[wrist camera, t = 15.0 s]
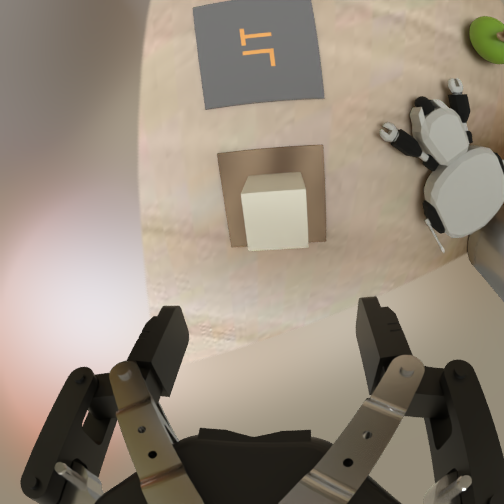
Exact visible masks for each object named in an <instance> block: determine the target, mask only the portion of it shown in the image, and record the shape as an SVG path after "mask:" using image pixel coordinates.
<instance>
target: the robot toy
mask: <svg viewBox="0 0 504 504" xmlns="http://www.w3.org/2000/svg"><path fill="white" fill-rule="evenodd" d="M454 81H455V82H454ZM448 88H449V89H450V91H451V92H452V94H453V95H448V97H449V102H450V107H451V108H448V107H447V106H446V105H445V104H444V103H443V102H442V101H441V100H429V99H427V98H426V97H423V96H421V97H418V98H417V99H416V100H415V107H414V108H412V110H411V113H410V118H411V122H412V134H413V137H414V138H413V137H412V136H410V135H409V134H408V133H406V132H405V131H403V130H402V129H400V130H397V128H396V127H395V125H394V124H392V123H389V122H386V123H384V124H383V126H382V127H385V128H387V129H388V130H389V132H388V133H386V132H385V131H383V130H382V129H380V131H379V132H380V136H381V137H382V138H383V139H384V140H385V141H389V142H391V145H392V146H393V147H395V148H396V149H398V150H399V151H401V152H402V153H404V154H405V155H407V156H413V157H419V158H420V159H422V160H423V165H424V166H425V167H427V168H428V169H429V170H431V171H433V172H432V173H431V174H430V176H429V177H428V179H427V181H426V184H425V187H424V196H425V201H424V202H423V208H424V214H425V216H426V219H425V220H424V221H425V223H426V225H428V226H429V228H430V230H431V231H432V233H433V235H434V237H435V239H436V241H437V243H438V244H439V246H440V249H441V251H442V252H443V253H444V248H443V247H442V246H441V244H440V242H439V240H438V238H437V236H436V234H435V232H434V231H433V229H432V227H433V228H434V229H435V230H436V231H438V232H439V233H440V234H441V233H446V234H447V235H448V236H450V237H451V238H461V237H464V236H467V235H469V234H472V233H473V232H475V231H477V230H479V229H480V228H482V227H484V226H485V225H486V224H487V223H488V222H489V221H490V220H491V219H492V218H493V216H494V215H495V214H496V213H497V212H498V210H499V209H500V207H501V206H502V204H503V202H504V160H502V159H501V158H500V156H499V155H498V154H497V153H495V152H492V150H491V149H490V148H486V147H482V146H477V145H469V143H473V141H472V134H471V132H470V131H468V130H467V120H468V117H469V114H470V107H469V102H468V97H467V94H462V91H463V85H462V82H461V80H459V79H458V78H456V79H454V78H451V79H449V80H448ZM431 226H432V227H431Z"/></svg>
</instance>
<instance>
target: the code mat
mask: <svg viewBox="0 0 504 504" xmlns="http://www.w3.org/2000/svg"><path fill="white" fill-rule="evenodd" d="M193 16H194V24H195V33H196V41H197V49H198V57H199V65H200V73H201V80H202V88H203V95H204V103H205V110H206V109H212V108H219V107H226V106H233V105H241V104H249V103H259V102H269V101H281V100H297V99H321V98H324V89H323V79H322V71H321V62H320V55H319V47H318V40H317V33H316V27H315V20H314V14H313V8H312V3H311V0H231V1H225V2H219V3H214V4H208V5H204V6H199V7H194V8H193Z"/></svg>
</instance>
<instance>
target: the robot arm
mask: <svg viewBox="0 0 504 504" xmlns="http://www.w3.org/2000/svg"><path fill="white" fill-rule="evenodd" d="M468 256H469V260H470V262H471V264H472V265H473V266H474V267H475V268H476V269H477V271H478V272H479V273H480V274H481V275H482V276H483V277H484V279H485V280H486V281H487V282H488V283H489V284H490V286H491V287H492V288H493V289H494V291H495V292H496V293H497V294H498V296H499V297H500V298H501V299H502V300H503V302H504V205H502V206H501V207H500V209H499V210H498V212H497V213H496V214H495V215H494V216H493V218H492V219H491V220H490V221H489V222H488V223H487V224H486V225H485V226H484V227H482V228H480V229H479V230H477V231H475V232H473V233H472V234H470V236H469V240H468ZM356 337H357V341H358V345H359V349H360V354H361V358H362V362H363V367H364V371H365V376H366V380H367V385H368V389H369V395H371V397H370V398H367V399H366V400H365V401H364V402H363V404H362V405H361V407H360V408H359V410H358V411H357V413H356V414H355V415H354V417H353V418H352V420H351V421H350V423H349V424H348V425H347V427H346V428H345V429H344V431H343V432H342V433H341V435H340V436H339V437H338V439H337V440H336V441H335V443H334V444H332V443H330V442H328V441H326V440H323V439H319V438H315V437H311V430H297V431H280V432H276V433H272V434H267V435H262V436H258V437H250V436H247V435H243V434H239V433H235V432H232V431H228V430H220V429H219V430H218V429H206V428H200V430H199V434H198V435H195V436H190V437H187V438H184V439H182V440H180V441H179V440H178V438H177V436H176V435H175V433H174V431H173V429H172V427H171V425H170V423H169V421H168V420H167V417H166V415H165V413H164V411H163V409H162V407H161V405H160V403H159V399H160V396H166V397H170V394H171V391H172V388H173V385H174V382H175V379H176V377H177V374H178V371H179V368H180V365H181V362H182V359H183V356H184V354H185V351H186V348H187V345H188V342H189V332H188V328H187V325H186V322H185V319H184V316H183V313H182V310H181V308H180V306H163V307H162V309H161V310H160V312H159V314H158V316H154V317H152V318H151V319H150V320H149V321H148V322H147V323H146V325H145V327H144V328H143V330H142V333H141V334H140V336H139V339H138V340H137V341H136V343H135V345H134V347H133V349H132V351H131V353H130V355H129V357H128V359H127V361H123V362H120V363H118V364H116V365H115V366H114V367H113V368H112V369H111V371H110V373H104V374H97V375H94V373H93V371H92V370H91V369H90V368H88V367H80V368H77V369H75V370H74V371H73V372H71V374H70V375H69V376H68V379H67V380H66V382H65V384H64V386H63V388H62V390H61V391H60V394H59V395H58V397H57V399H56V401H55V403H54V405H53V407H52V409H51V411H50V413H49V415H48V417H47V420H46V422H45V424H44V426H43V428H42V430H41V432H40V435H39V437H38V439H37V441H36V443H35V446H34V448H33V450H32V453H31V455H30V457H29V460H28V462H27V465H26V467H25V470H24V472H23V475H22V478H21V488H22V491H23V492H24V494H25V495H26V496H28V497H29V498H31V499H32V500H34V501H36V502H38V503H39V504H401V503H400V502H399V501H398V500H396V499H395V498H394V497H393V496H392V495H391V494H389V493H388V492H387V491H386V490H385V489H384V488H382V487H381V486H380V485H379V484H378V483H377V482H376V481H374V480H373V479H372V478H371V477H370V476H369V473H370V472H371V470H372V469H373V467H374V466H375V464H376V463H377V461H378V460H379V458H380V456H381V455H382V453H383V452H384V450H385V448H386V447H387V445H388V443H389V442H390V440H391V438H392V437H393V435H394V433H395V431H396V429H397V428H398V426H399V424H400V422H401V420H402V419H403V417H404V416H412V417H422V418H424V420H425V424H426V430H427V434H428V440H429V445H430V451H431V457H432V463H433V470H434V477H435V484H434V485H433V486H432V487H431V488H430V489H429V490H428V491H427V492H426V494H425V496H424V499H423V504H504V458H503V453H502V449H501V446H500V442H499V439H498V435H497V432H496V429H495V425H494V422H493V419H492V416H491V413H490V410H489V407H488V404H487V402H486V399H485V396H484V393H483V391H482V389H481V386H480V383H479V381H478V378H477V376H476V373H475V371H474V369H473V367H472V366H471V365H470V364H469V363H467V362H466V361H463V360H453V361H450V362H449V363H448V364H447V365H446V366H445V368H444V369H443V368H432V367H426V366H424V365H423V363H422V362H421V361H420V360H419V359H418V358H417V357H414V356H413V355H412V353H411V350H410V348H409V345H408V343H407V340H406V338H405V335H404V333H403V331H402V328H401V326H400V324H399V321H398V318H397V316H396V314H395V313H394V312H393V311H392V310H391V309H390V308H389V307H381V306H380V304H379V302H378V299H377V297H376V296H375V297H364V298H359V302H358V312H357V321H356ZM87 410H88V411H89V413H88V415H87V417H86V420H85V422H84V424H83V427H82V422H83V419H84V417H85V414H86V412H87ZM117 420H118V422H119V426H120V429H121V432H122V435H123V437H124V440H125V443H126V446H127V449H128V451H129V454H130V456H131V459H132V462H133V464H134V467H135V469H136V471H137V472H135V473H134V474H132V475H131V476H130V477H128V478H127V479H125V480H124V481H122V482H121V483H119V484H118V485H116V486H115V487H113V488H112V489H110V490H109V491H107V492H106V493H104V494H103V491H102V484H101V481H100V480H99V479H98V477H99V474H100V470H101V467H102V464H103V461H104V458H105V455H106V452H107V449H108V446H109V443H110V440H111V437H112V434H113V431H114V428H115V425H116V422H117Z"/></svg>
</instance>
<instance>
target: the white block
mask: <svg viewBox="0 0 504 504" xmlns="http://www.w3.org/2000/svg"><path fill="white" fill-rule="evenodd" d="M241 200H242V207H243V215H244V222H245V229H246V237H247V244H248V251H262V250H278V249H294V248H308V221H307V201H306V188H305V185H304V181H303V178H302V175H301V172H292V173H278V174H265V175H253V176H248V178H247V180H246V183H245V185H244V187H243V190H242V192H241Z"/></svg>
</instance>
